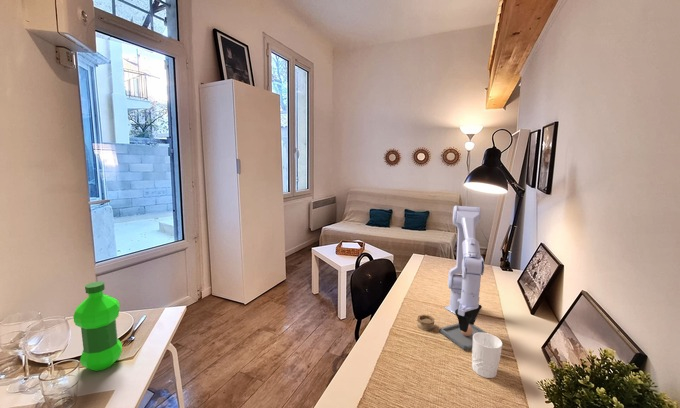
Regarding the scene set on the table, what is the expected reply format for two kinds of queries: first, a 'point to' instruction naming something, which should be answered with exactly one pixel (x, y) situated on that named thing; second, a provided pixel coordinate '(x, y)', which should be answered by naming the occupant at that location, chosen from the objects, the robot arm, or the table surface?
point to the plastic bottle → (98, 328)
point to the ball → (468, 331)
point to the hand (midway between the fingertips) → (467, 327)
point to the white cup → (486, 354)
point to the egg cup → (425, 322)
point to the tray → (460, 335)
